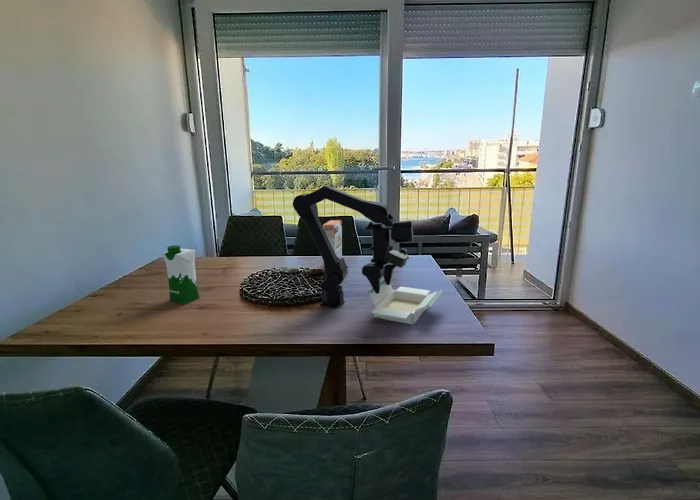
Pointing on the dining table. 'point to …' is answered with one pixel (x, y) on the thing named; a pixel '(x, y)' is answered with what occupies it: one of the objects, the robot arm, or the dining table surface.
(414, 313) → the carton
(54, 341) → the dining table surface
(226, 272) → the dining table surface
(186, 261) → the milk carton
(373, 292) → the flap
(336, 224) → the cracker box
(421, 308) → the flap
